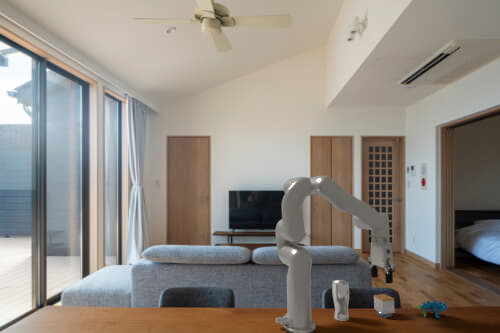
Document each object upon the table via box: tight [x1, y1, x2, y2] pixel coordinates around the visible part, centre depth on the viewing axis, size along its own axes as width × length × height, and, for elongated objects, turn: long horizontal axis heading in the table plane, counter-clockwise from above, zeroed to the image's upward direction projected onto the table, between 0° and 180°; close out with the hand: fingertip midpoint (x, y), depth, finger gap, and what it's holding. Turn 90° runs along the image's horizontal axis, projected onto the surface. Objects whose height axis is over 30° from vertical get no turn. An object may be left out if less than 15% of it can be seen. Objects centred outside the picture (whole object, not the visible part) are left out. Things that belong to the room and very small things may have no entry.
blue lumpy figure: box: [417, 299, 448, 319], centre depth 124 cm, size 11×6×10 cm
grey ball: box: [375, 310, 394, 319], centre depth 126 cm, size 6×6×5 cm
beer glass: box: [331, 279, 350, 322], centre depth 124 cm, size 7×7×15 cm
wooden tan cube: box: [373, 293, 396, 314], centre depth 127 cm, size 6×6×6 cm
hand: (381, 280), depth 128 cm, fingers open, 9 cm apart
